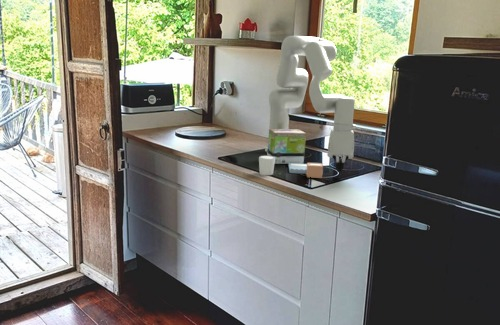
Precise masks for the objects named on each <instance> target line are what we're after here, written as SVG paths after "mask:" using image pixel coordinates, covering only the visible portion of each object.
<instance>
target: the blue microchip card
mask: <svg viewBox="0 0 500 325" xmlns="http://www.w3.org/2000/svg"><path fill="white" fill-rule="evenodd" d="M287 165H288V171H289V174H305V175H306V171H307V163H303V164H297V163H288V164H287ZM323 173H324V171H323V172H322V176H323V175H324V174H323Z"/></svg>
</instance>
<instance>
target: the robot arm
mask: <svg viewBox="0 0 500 325" xmlns="http://www.w3.org/2000/svg"><path fill="white" fill-rule="evenodd" d="M337 53H338V52H337V47H336V46H335V44H334V43H333V42H332V41H329V40H327V39H324V38H320V37H316V36H304V35H290V36H286V37H285V38H284V39H283V41H282V42H281V49H280V61H279V65H278V70H277V75H276V82H275V83H276V85H277V86H278V87H280V88H276V89H274V90H272V91H270V92H269V96H268V103H269V129H289V128H290V127H289V125H290V124H289V123H290V117H289V114H288V112H287V109H298V108H300V107H301V106H302V105H303V102H304V100H305V95H306V91H307V90H308V93H309V94H308V96H309V98H310V102H311V105H312V107H313V108H314V110H315V111H316V113H319V114H329V113H331V114H333V113H334V117H333V127H332V128H333V129H330V133H329V138H328V145H327V146H328V147H327V151H328V152H327V154H326V156H327V157H328V158H331V159H333V160H334V161H335V170H336V171H337V173H342V171H343V170H344V165H345V162H346V161H347V160H348V159H353V158H354V156H355V155H354V152H355V132H354V129H357V125H356V124H354V123H353V122H354V112H355V103H356V102H355V98H353V97H351V96H345V95H342V94H337V93H336V94H331V93H330V94H328V93H327V94H323V92H322V88H321V82H323V81H324V80H326V79H328V78H330V76H332V74H333V69H332V67H331V64H330V62H333V61H334V60H335V59H336V57H337ZM299 56H304V57H306V58H305V59H306V61H307V64H308V66H309V67H308V68H309V69H310V74H311V75H312V78H311V81H310V84H309V73H308V71H307V70H306V69H304V68H301V67H298V66H299ZM308 84H309V88H308ZM269 129H268V130H269ZM267 150H268V147H265V149H264V152H265V153H267ZM339 156H340V157H341V158H340V157H339Z"/></svg>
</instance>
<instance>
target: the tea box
mask: <svg viewBox="0 0 500 325" xmlns="http://www.w3.org/2000/svg"><path fill="white" fill-rule="evenodd" d="M267 138H268V141H267V148H268V150H267V152H266V154H267V155H266V156H273V157H275V163H274V165H280V164H285V165H286V164H287V165H288V163H297V164H304V162H305V161H304V160H305V152H306V151H305V150H306V140H307V133H306V132H304V131H303V130H301V129H294V128H293V129H290V128H288V129H268V137H267Z"/></svg>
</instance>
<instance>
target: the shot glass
mask: <svg viewBox="0 0 500 325" xmlns="http://www.w3.org/2000/svg"><path fill="white" fill-rule="evenodd" d="M258 163H259V164H258V169H259V174H260V175H262V176H272V175H274V169H275V164H274V163H275V157H273V156H267V155H260V156H259V157H258Z"/></svg>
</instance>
